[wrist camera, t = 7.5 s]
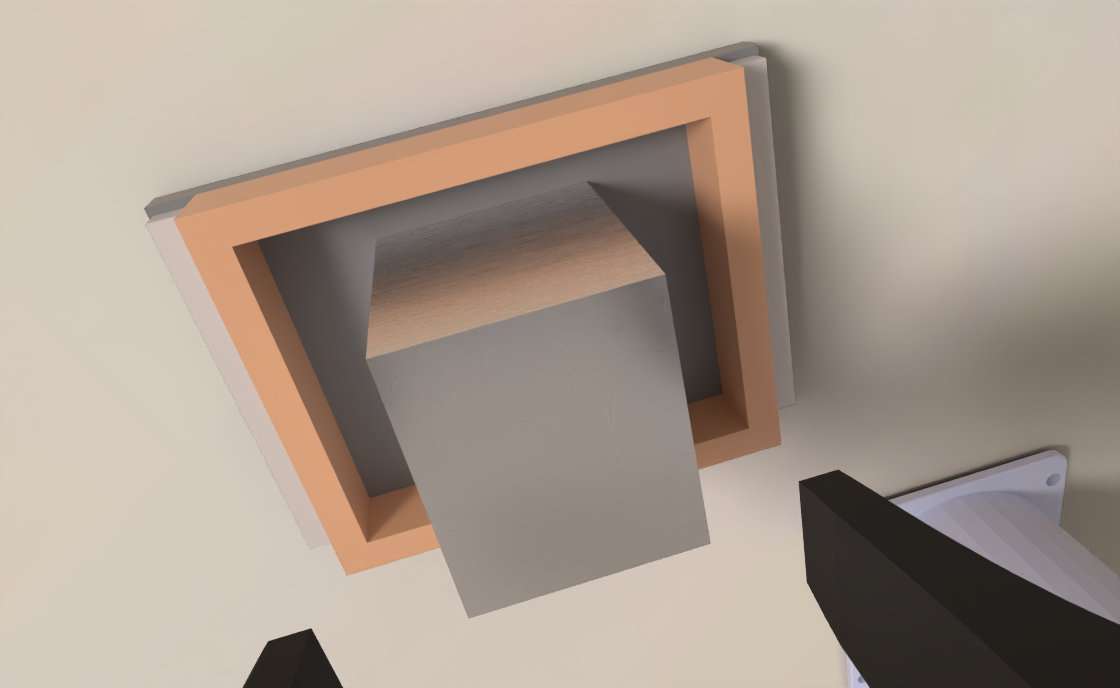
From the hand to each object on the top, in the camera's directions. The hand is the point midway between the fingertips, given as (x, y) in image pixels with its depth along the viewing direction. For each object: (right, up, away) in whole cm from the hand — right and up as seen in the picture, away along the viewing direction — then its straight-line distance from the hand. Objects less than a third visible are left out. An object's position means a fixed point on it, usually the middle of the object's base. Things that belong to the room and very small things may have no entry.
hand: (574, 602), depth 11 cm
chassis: (-2, +5, +9) cm, 10 cm away
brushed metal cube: (-1, +4, +8) cm, 9 cm away
